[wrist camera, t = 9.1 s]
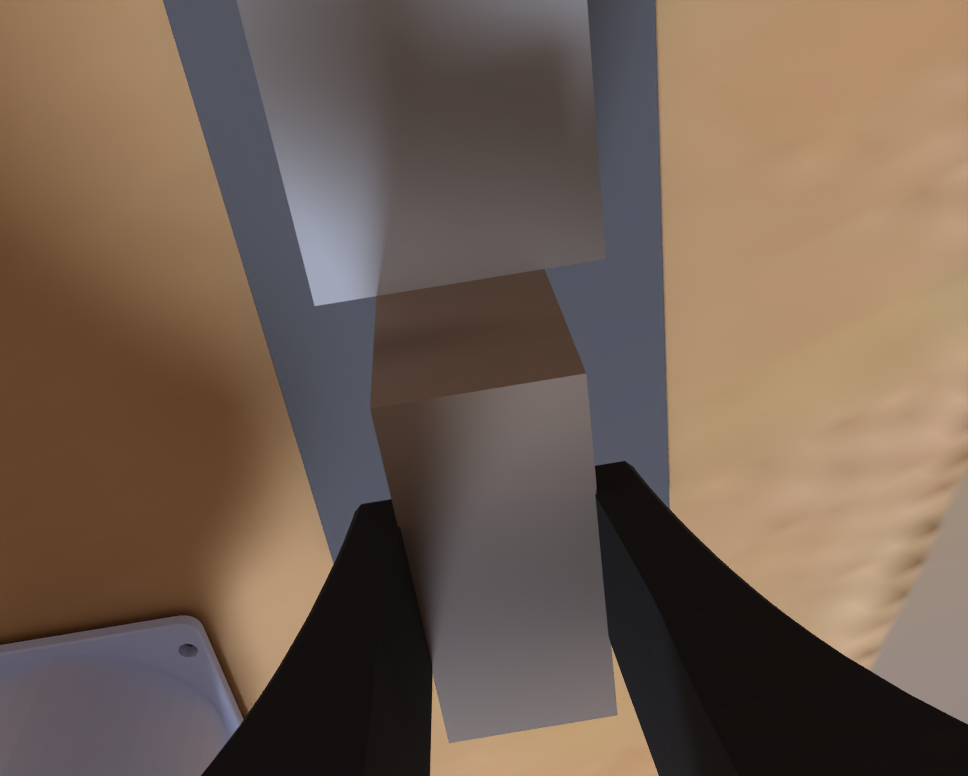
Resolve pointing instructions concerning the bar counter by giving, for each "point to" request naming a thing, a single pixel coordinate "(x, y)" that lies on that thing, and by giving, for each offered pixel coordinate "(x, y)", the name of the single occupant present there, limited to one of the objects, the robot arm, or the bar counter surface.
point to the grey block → (462, 315)
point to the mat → (350, 324)
